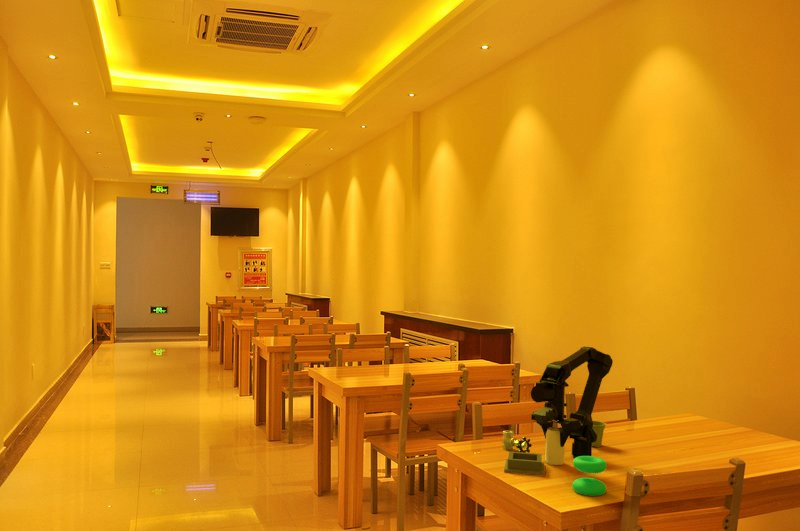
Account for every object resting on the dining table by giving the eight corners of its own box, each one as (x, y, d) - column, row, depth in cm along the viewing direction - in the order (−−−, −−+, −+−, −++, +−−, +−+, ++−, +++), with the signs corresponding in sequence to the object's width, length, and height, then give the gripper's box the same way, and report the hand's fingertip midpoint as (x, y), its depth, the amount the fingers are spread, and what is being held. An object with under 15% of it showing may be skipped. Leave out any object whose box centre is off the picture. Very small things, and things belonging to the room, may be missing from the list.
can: (542, 460, 245) (543, 426, 245) (560, 460, 245) (561, 426, 246) (548, 465, 238) (549, 430, 239) (566, 465, 239) (567, 431, 239)
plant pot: (594, 449, 264) (594, 426, 264) (575, 443, 272) (576, 421, 272) (610, 446, 269) (611, 424, 269) (591, 441, 277) (592, 419, 277)
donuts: (614, 461, 208) (588, 464, 204) (613, 495, 208) (587, 498, 204) (591, 453, 217) (566, 456, 213) (591, 485, 217) (565, 488, 213)
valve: (497, 448, 261) (517, 456, 251) (497, 431, 261) (518, 438, 251) (511, 446, 264) (531, 454, 254) (511, 429, 264) (532, 436, 254)
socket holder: (544, 465, 239) (544, 453, 239) (544, 475, 227) (544, 463, 227) (506, 461, 242) (506, 450, 242) (504, 472, 229) (504, 459, 229)
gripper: (520, 397, 246) (519, 441, 246) (559, 406, 230) (558, 453, 230) (543, 394, 252) (542, 437, 252) (582, 403, 236) (581, 449, 236)
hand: (554, 444), depth 242 cm, fingers closed on can, 6 cm apart
